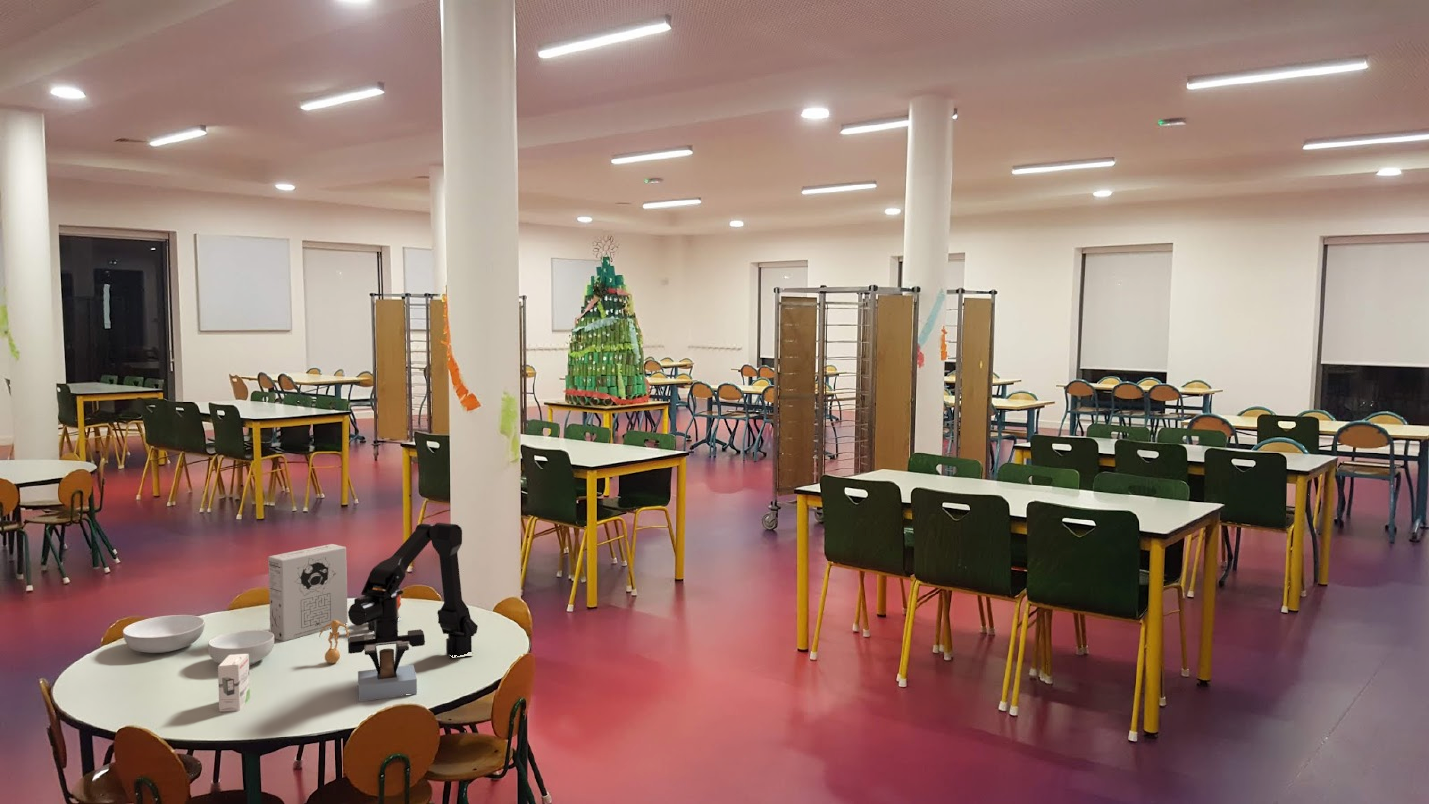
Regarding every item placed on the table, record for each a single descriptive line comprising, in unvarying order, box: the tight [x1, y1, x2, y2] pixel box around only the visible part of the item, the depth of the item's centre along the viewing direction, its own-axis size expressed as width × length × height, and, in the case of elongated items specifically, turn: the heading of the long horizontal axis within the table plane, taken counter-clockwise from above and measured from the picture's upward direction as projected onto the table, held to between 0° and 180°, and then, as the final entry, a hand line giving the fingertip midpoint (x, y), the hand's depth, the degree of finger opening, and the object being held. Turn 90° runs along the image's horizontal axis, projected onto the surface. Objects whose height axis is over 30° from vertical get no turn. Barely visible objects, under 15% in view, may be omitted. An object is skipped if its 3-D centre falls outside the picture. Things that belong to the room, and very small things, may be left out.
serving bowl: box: [122, 614, 206, 654], centre depth 279 cm, size 21×21×7 cm
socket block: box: [357, 664, 418, 702], centre depth 249 cm, size 14×11×4 cm
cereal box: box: [267, 543, 349, 642], centre depth 295 cm, size 22×8×25 cm, turn 144°
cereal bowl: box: [207, 629, 275, 667], centre depth 267 cm, size 17×17×7 cm
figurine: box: [318, 619, 350, 664], centre depth 269 cm, size 8×6×12 cm
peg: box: [378, 648, 395, 679], centre depth 248 cm, size 4×4×8 cm
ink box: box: [217, 654, 251, 712], centre depth 238 cm, size 9×5×12 cm, turn 10°
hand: (387, 673), depth 248 cm, fingers closed on peg, 4 cm apart
